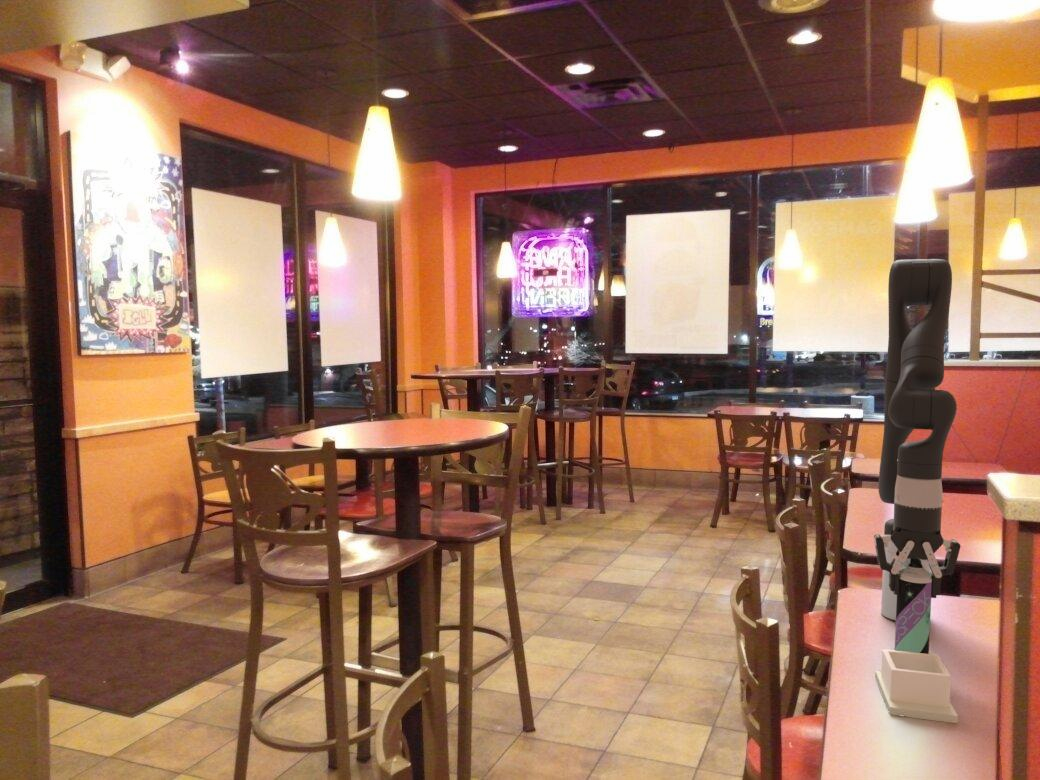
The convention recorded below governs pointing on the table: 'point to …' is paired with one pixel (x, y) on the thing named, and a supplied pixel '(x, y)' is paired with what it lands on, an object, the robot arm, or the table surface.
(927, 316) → the robot arm
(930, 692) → the can holder
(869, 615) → the table surface
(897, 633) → the spray can
